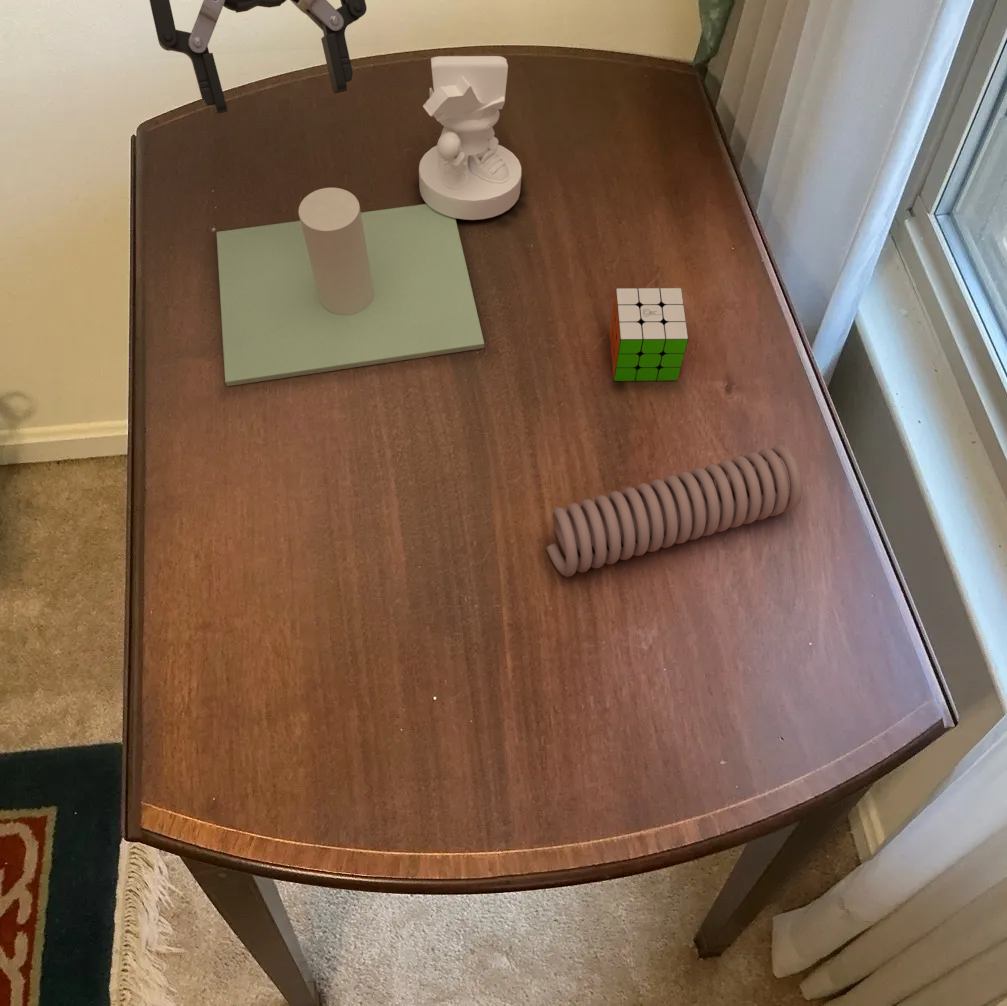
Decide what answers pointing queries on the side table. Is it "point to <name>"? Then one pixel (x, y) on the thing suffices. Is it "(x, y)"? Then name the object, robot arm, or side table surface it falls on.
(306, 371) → the mat
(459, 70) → the character figurine
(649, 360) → the rubik's cube
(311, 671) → the side table surface
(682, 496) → the coil
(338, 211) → the cylinder
